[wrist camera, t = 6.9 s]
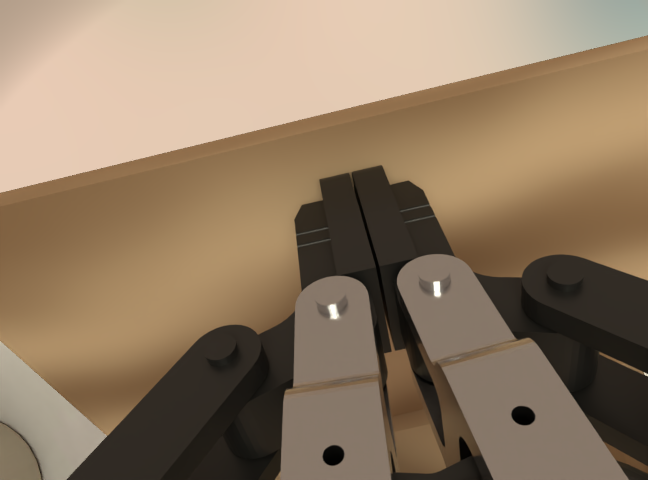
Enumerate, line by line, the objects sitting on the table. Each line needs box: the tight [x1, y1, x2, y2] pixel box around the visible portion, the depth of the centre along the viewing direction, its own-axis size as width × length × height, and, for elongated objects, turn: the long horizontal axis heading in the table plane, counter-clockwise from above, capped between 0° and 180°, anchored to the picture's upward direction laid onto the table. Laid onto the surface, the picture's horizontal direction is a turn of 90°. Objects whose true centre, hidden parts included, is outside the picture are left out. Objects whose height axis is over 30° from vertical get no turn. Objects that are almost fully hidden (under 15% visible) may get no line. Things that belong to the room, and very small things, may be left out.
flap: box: [0, 36, 648, 436], centre depth 17 cm, size 14×20×1 cm
